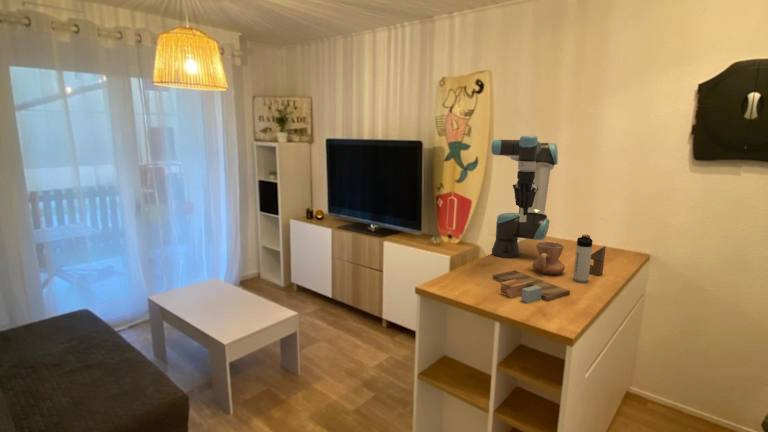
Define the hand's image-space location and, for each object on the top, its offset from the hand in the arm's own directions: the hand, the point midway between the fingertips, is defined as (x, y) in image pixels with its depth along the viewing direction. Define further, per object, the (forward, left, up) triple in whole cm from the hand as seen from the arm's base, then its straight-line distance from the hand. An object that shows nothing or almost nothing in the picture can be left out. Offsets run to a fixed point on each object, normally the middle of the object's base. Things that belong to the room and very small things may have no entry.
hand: (522, 221), depth 188 cm
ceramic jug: (+4, +15, -26) cm, 31 cm away
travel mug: (+19, +19, -26) cm, 38 cm away
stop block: (+24, -19, -26) cm, 40 cm away
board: (+13, -8, -26) cm, 30 cm away
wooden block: (+14, +33, -26) cm, 45 cm away
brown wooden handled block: (+16, -17, -26) cm, 35 cm away
